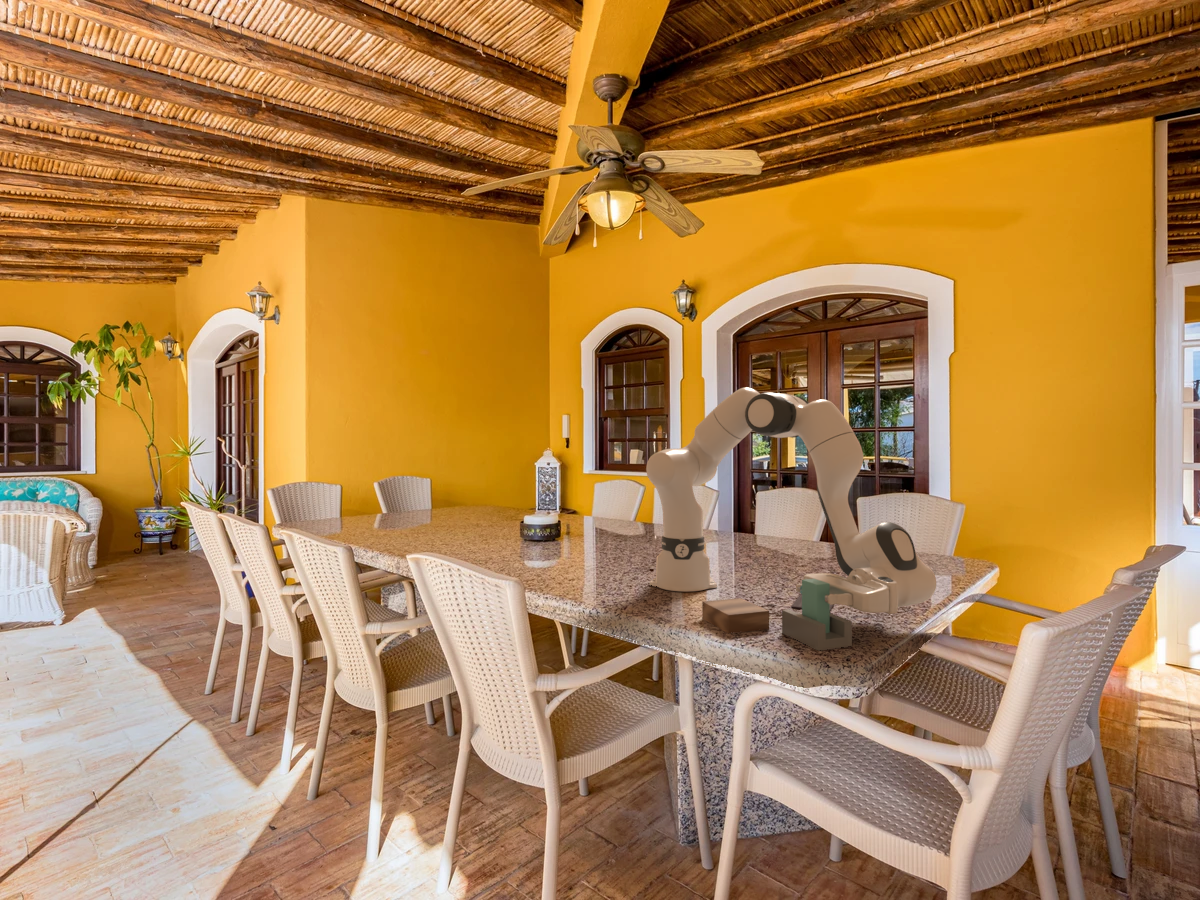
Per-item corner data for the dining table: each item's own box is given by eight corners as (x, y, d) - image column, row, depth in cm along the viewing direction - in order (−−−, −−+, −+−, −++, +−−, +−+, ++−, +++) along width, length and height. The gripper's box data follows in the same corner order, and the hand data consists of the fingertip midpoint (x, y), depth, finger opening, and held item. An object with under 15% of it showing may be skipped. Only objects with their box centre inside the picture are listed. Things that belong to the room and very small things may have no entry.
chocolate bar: (791, 606, 155) (802, 590, 171) (791, 610, 155) (803, 594, 171) (829, 610, 151) (838, 594, 167) (829, 614, 151) (838, 597, 167)
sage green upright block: (801, 627, 133) (801, 579, 133) (814, 625, 134) (814, 578, 134) (817, 634, 128) (817, 584, 128) (829, 632, 129) (829, 583, 129)
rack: (782, 633, 135) (782, 609, 135) (813, 629, 138) (813, 606, 138) (817, 650, 124) (817, 625, 124) (851, 646, 126) (851, 621, 126)
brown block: (702, 618, 147) (702, 601, 147) (740, 614, 150) (740, 597, 150) (728, 633, 135) (728, 615, 135) (769, 629, 138) (769, 610, 138)
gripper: (834, 564, 145) (782, 569, 140) (903, 584, 125) (845, 589, 121) (834, 592, 145) (782, 597, 140) (903, 616, 125) (845, 622, 121)
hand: (812, 594), depth 130 cm, fingers open, 8 cm apart
